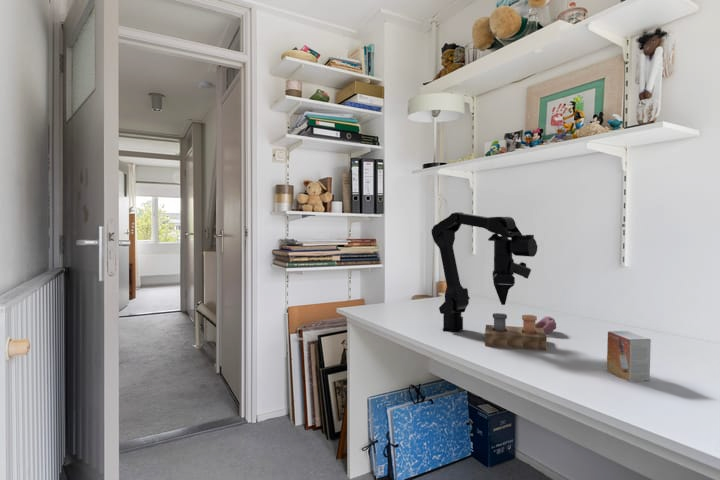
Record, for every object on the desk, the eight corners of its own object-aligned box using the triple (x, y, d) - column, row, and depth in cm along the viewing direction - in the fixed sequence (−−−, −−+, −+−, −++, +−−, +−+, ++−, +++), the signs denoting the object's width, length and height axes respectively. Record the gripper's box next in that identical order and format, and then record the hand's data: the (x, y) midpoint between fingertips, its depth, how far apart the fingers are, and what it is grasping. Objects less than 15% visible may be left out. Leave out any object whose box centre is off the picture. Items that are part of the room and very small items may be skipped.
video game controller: (550, 341, 141) (560, 323, 140) (538, 334, 142) (548, 317, 141) (543, 333, 151) (553, 317, 150) (532, 327, 152) (541, 311, 151)
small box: (606, 370, 107) (606, 330, 107) (626, 370, 108) (626, 330, 107) (628, 382, 99) (629, 339, 99) (650, 381, 100) (651, 338, 99)
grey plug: (492, 334, 134) (492, 315, 133) (492, 331, 138) (492, 312, 137) (506, 335, 132) (506, 316, 132) (506, 332, 136) (506, 313, 136)
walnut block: (484, 345, 131) (484, 333, 131) (485, 336, 142) (485, 324, 142) (546, 350, 125) (546, 337, 125) (542, 340, 136) (542, 328, 136)
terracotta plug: (522, 336, 131) (522, 317, 130) (521, 333, 135) (521, 314, 135) (537, 337, 129) (537, 318, 129) (536, 334, 133) (536, 315, 133)
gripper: (532, 257, 123) (532, 309, 124) (526, 253, 141) (526, 298, 142) (493, 256, 127) (493, 307, 127) (492, 252, 145) (492, 297, 145)
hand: (502, 302), depth 135 cm, fingers open, 9 cm apart
